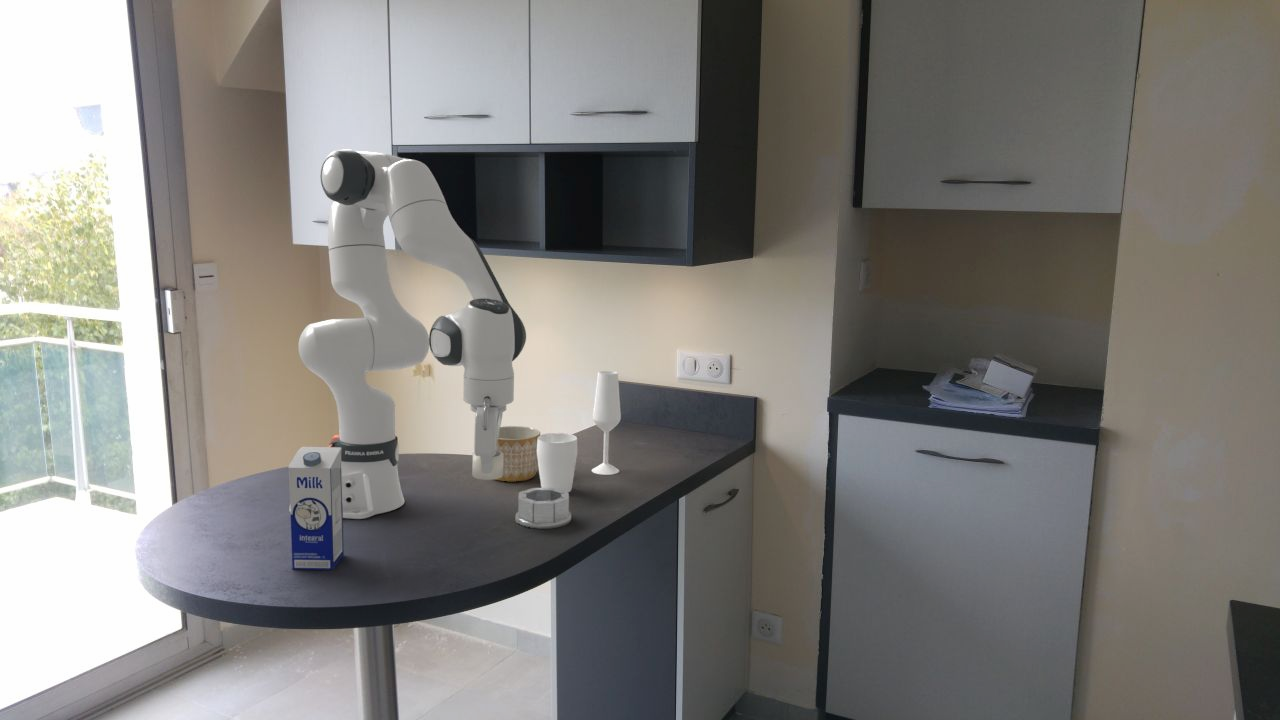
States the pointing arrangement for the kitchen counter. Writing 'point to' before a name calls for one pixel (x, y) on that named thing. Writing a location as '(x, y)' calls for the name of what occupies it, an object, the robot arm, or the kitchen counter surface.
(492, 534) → the kitchen counter surface
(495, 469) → the cap
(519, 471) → the planter
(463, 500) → the kitchen counter surface
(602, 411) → the champagne flute
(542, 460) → the cup
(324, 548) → the milk carton
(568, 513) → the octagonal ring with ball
